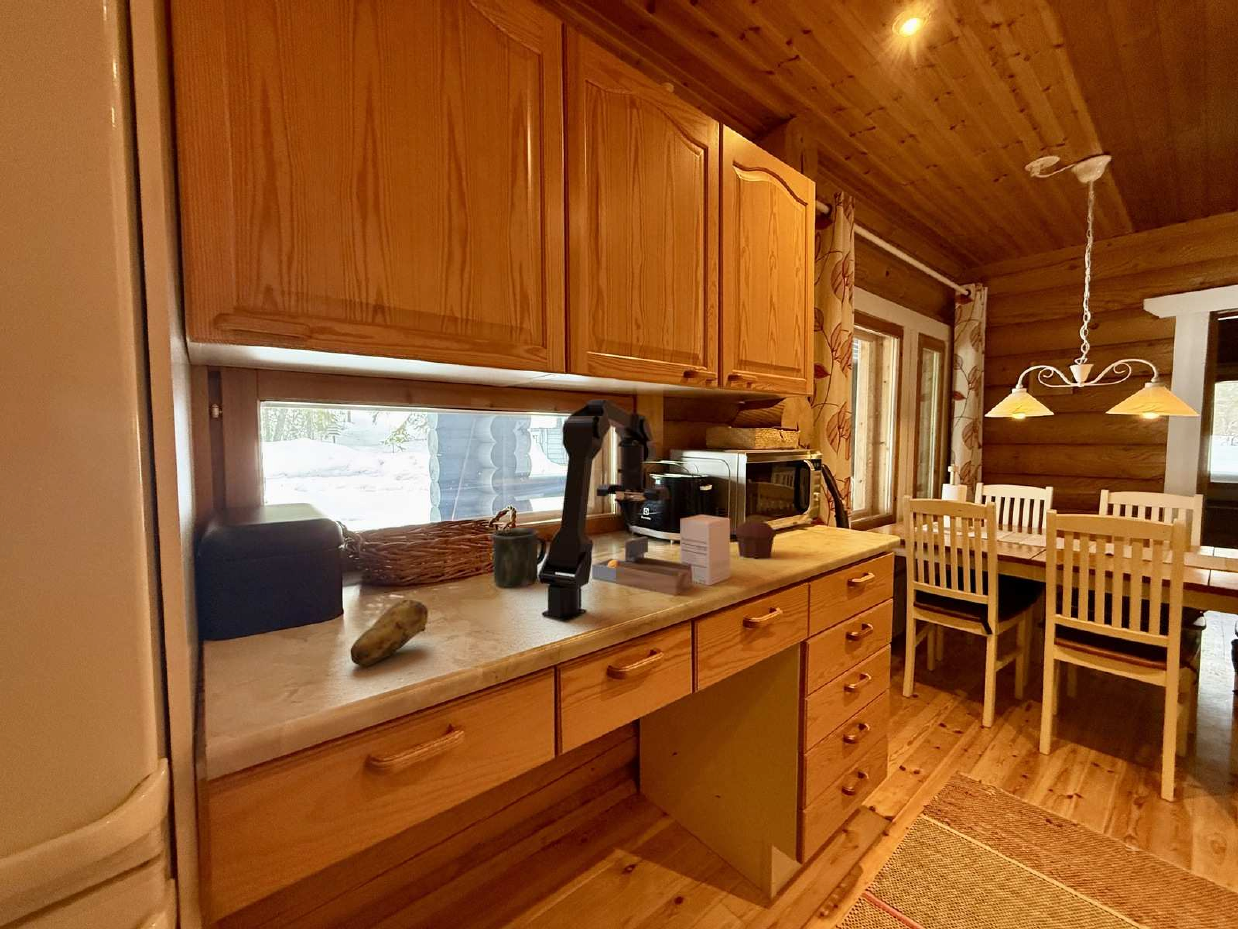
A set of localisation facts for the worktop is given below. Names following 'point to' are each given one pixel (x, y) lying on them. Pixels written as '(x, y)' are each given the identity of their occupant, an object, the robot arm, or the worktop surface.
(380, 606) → the worktop surface
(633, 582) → the launcher track
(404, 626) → the potato
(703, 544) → the supplement box
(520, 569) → the mug
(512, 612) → the worktop surface
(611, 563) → the ball
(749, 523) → the muffin
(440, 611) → the worktop surface
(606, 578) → the flat blue-grey box
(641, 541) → the dark grey upright block
